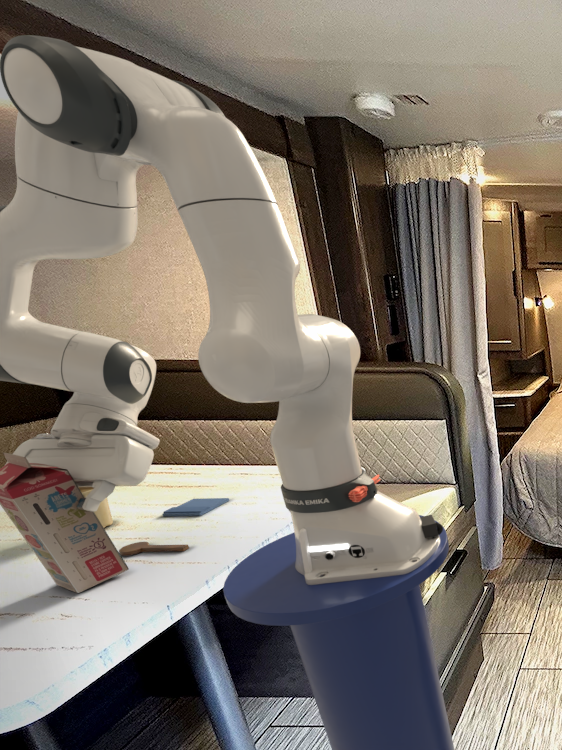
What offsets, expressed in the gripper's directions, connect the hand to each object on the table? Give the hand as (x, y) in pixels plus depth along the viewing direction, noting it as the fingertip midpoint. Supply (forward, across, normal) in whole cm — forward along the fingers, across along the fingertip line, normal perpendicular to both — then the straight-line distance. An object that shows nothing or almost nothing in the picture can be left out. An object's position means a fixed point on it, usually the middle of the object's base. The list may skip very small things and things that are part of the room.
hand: (56, 511), depth 78 cm
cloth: (-11, -6, +29) cm, 32 cm away
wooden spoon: (+2, +2, +16) cm, 16 cm away
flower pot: (-5, -20, +23) cm, 31 cm away
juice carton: (+8, 0, +9) cm, 12 cm away
